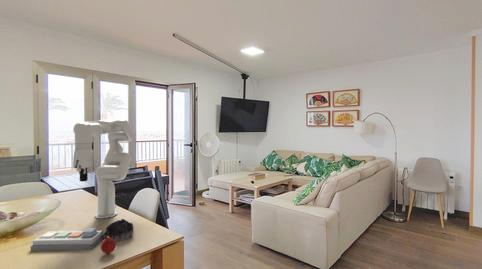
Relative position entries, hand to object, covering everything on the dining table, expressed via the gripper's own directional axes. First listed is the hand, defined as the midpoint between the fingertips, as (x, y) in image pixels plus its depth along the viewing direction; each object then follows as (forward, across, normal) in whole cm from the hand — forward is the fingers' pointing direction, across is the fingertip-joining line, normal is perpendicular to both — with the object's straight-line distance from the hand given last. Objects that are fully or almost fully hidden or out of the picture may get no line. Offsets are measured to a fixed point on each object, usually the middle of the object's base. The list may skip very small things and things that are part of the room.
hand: (83, 180), depth 133 cm
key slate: (+23, +14, +10) cm, 29 cm away
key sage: (+25, +14, -2) cm, 29 cm away
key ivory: (+25, +14, -8) cm, 30 cm away
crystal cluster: (+28, +7, +21) cm, 35 cm away
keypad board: (+27, +14, +1) cm, 31 cm away
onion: (+27, +25, +24) cm, 44 cm away
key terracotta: (+25, +14, +4) cm, 29 cm away
